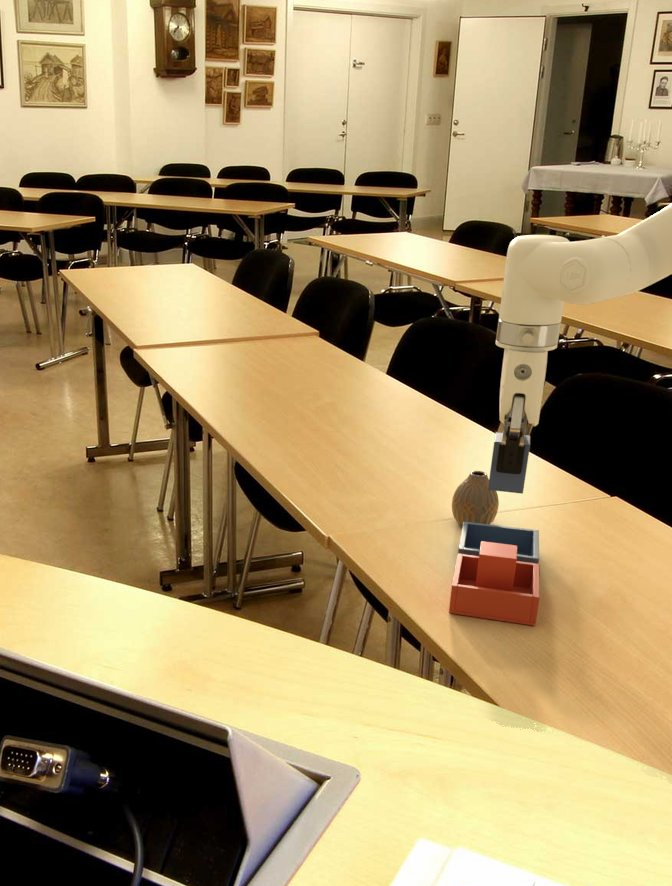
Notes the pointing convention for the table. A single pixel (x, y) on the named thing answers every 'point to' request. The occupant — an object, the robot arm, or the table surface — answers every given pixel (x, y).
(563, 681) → the table surface
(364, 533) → the table surface
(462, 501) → the vase
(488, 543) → the red block
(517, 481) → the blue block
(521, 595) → the red bin
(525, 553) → the blue bin
